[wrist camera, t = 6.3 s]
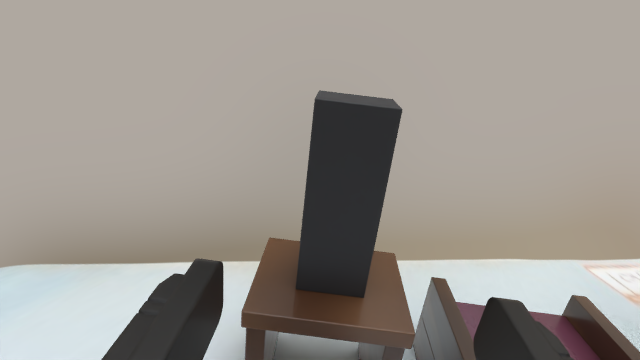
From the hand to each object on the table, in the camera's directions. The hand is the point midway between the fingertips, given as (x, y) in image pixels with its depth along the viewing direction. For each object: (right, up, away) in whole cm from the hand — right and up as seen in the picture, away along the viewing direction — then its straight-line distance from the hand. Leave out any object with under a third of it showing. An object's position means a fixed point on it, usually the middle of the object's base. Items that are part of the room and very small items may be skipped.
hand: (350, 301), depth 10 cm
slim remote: (0, -3, +13) cm, 13 cm away
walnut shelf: (-1, -12, +16) cm, 20 cm away
